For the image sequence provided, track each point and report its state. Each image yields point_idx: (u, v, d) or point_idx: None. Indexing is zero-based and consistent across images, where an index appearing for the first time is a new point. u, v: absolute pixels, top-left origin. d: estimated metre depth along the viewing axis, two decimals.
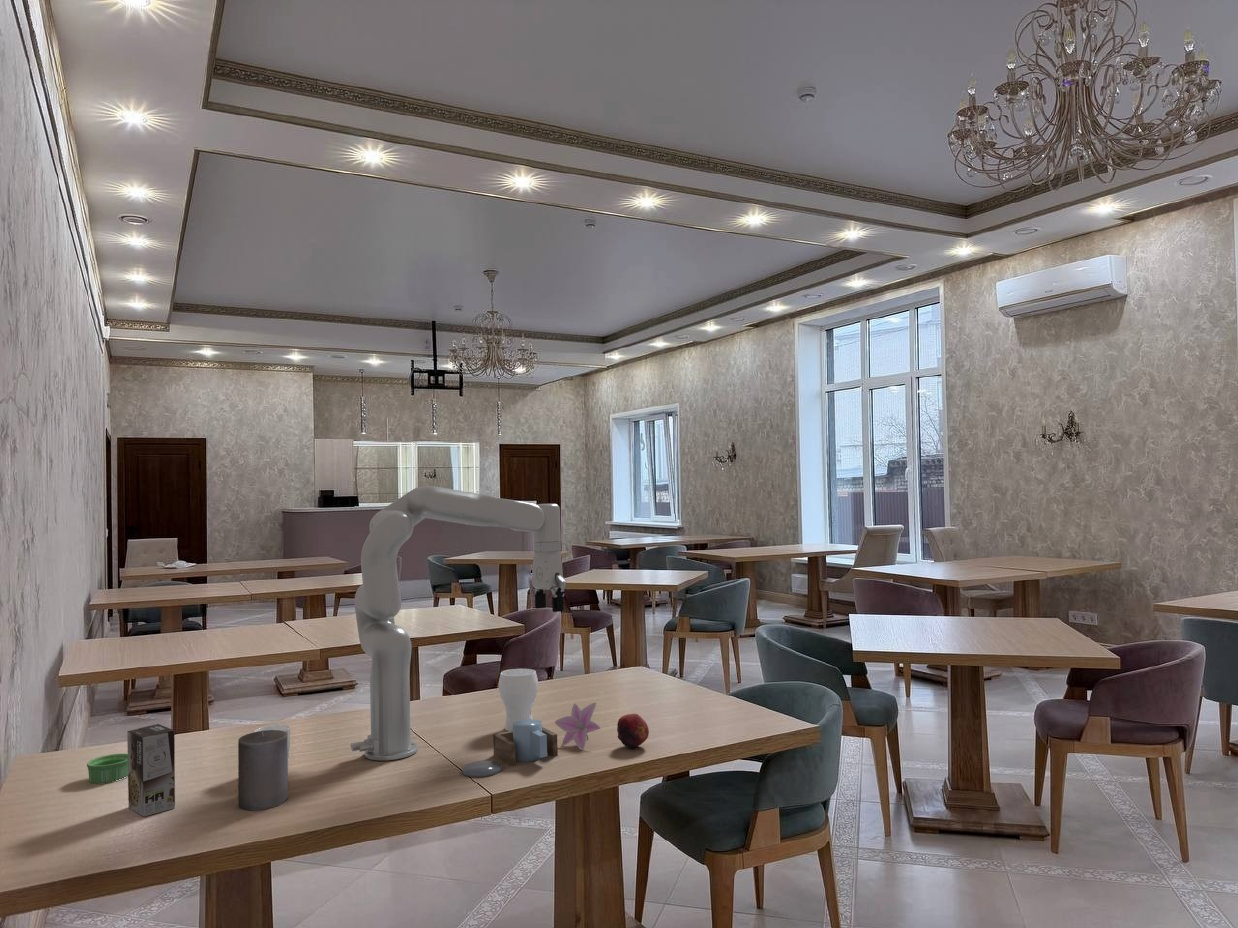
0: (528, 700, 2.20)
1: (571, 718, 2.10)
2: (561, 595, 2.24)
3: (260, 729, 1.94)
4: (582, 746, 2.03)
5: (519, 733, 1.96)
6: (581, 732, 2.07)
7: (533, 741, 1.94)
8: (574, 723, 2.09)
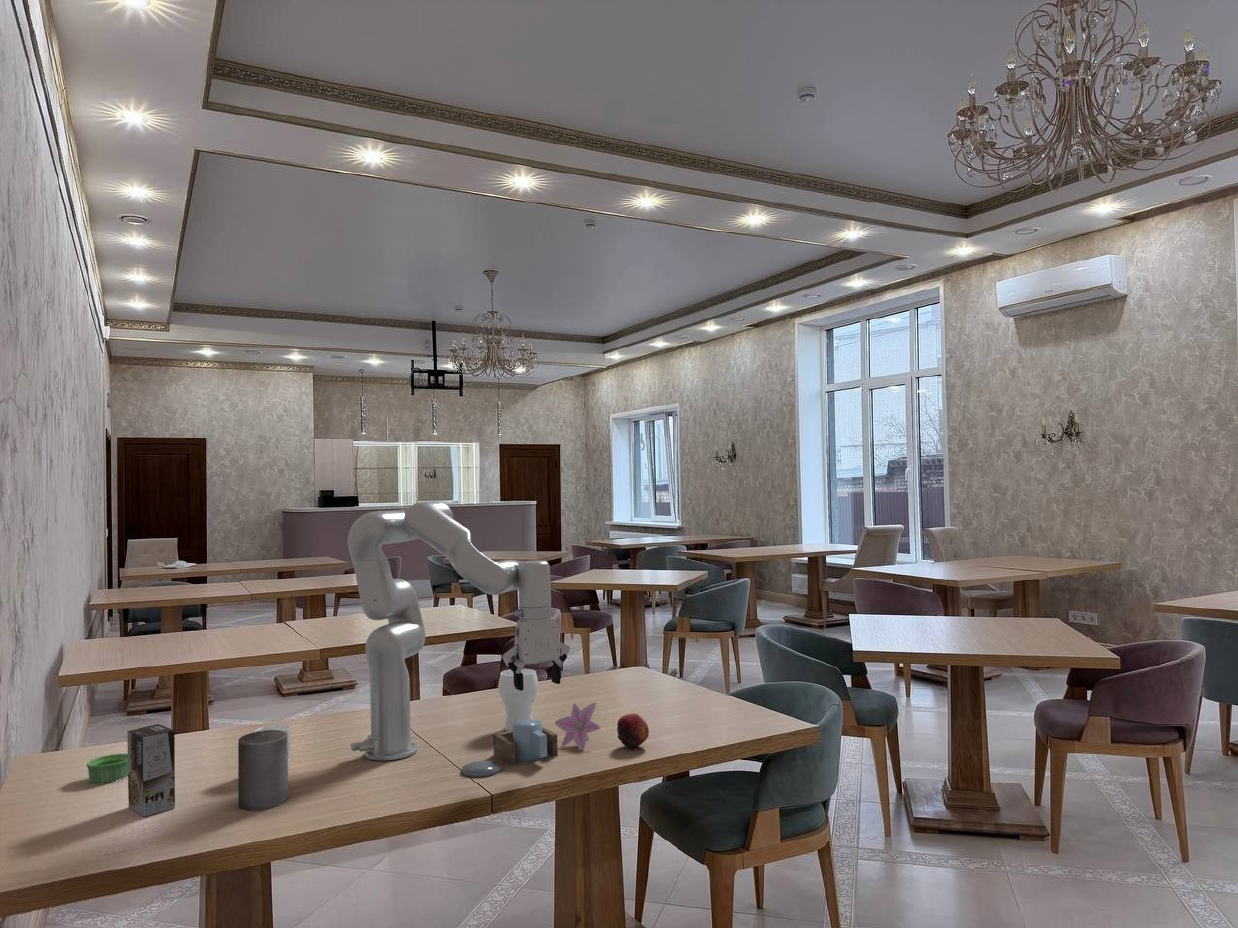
0: (528, 700, 2.20)
1: (571, 718, 2.10)
2: None
3: (260, 729, 1.94)
4: (582, 746, 2.03)
5: (519, 733, 1.96)
6: (581, 732, 2.06)
7: (533, 741, 1.94)
8: (574, 723, 2.09)
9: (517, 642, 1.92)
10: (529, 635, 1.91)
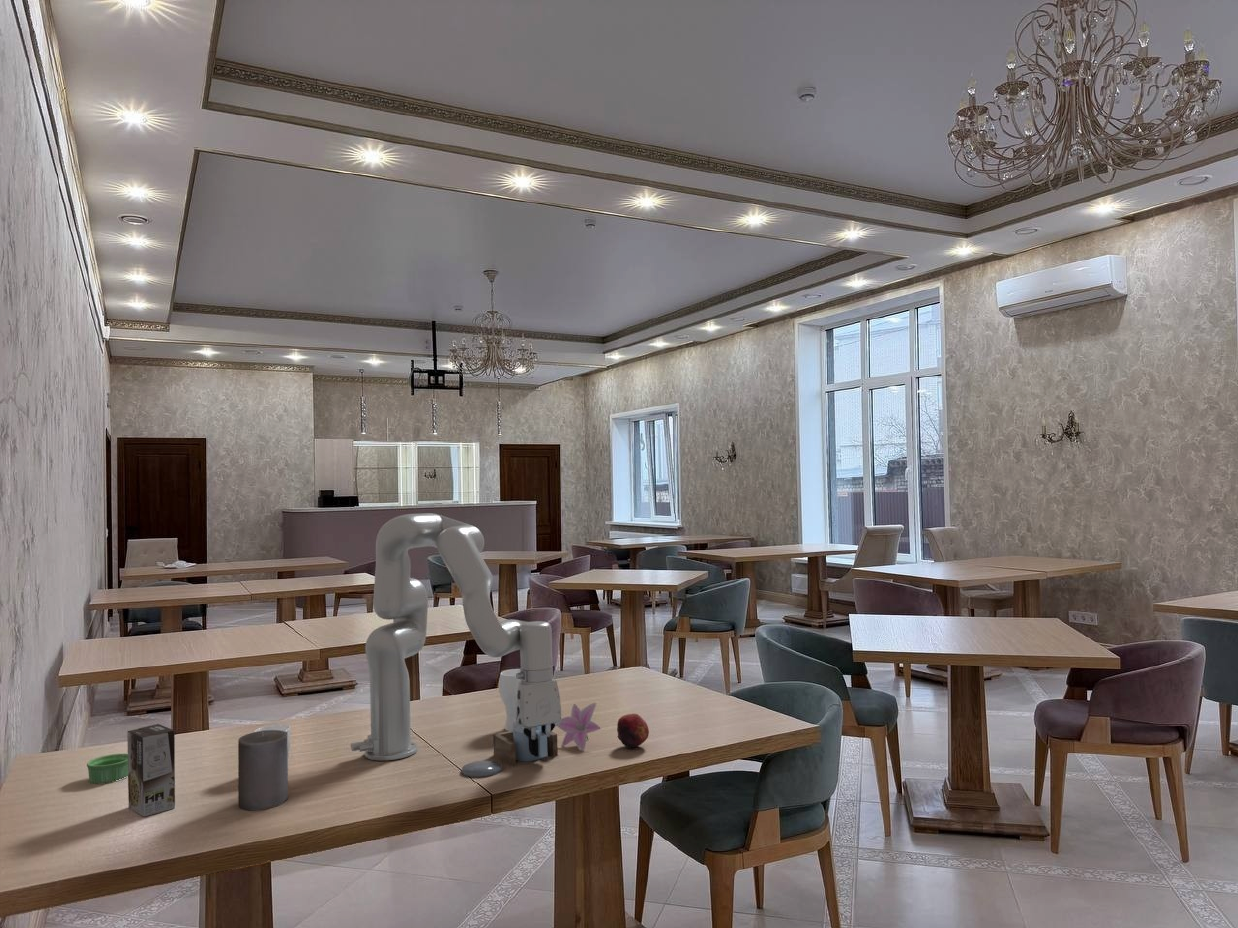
0: None
1: (571, 719, 2.09)
2: None
3: (260, 729, 1.94)
4: (582, 746, 2.03)
5: (520, 733, 1.95)
6: (581, 732, 2.06)
7: None
8: (574, 724, 2.09)
9: (518, 705, 1.91)
10: (530, 698, 1.90)
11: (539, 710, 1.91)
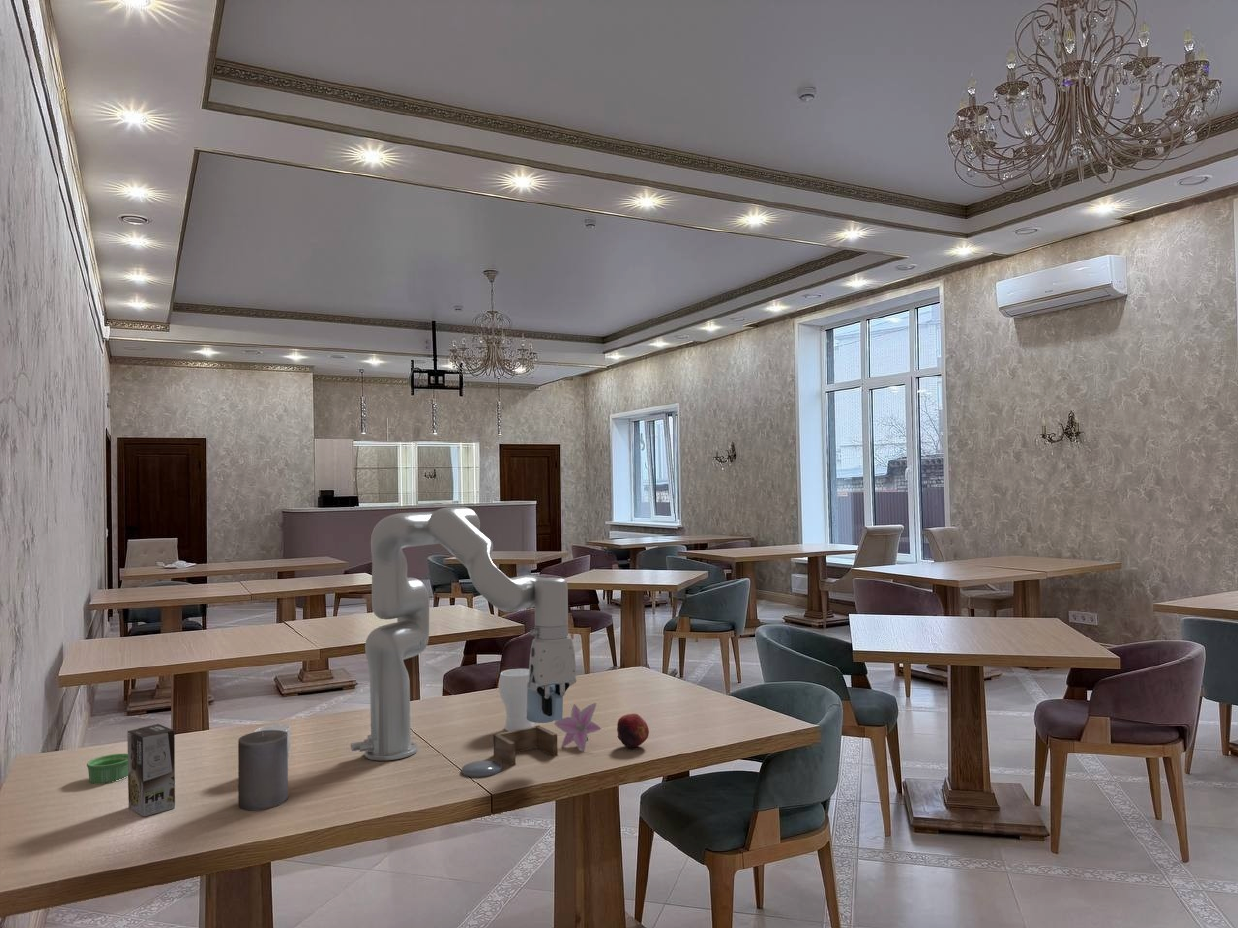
0: None
1: (571, 719, 2.09)
2: None
3: (260, 729, 1.94)
4: (583, 747, 2.02)
5: (534, 694, 1.88)
6: (581, 733, 2.06)
7: None
8: (574, 724, 2.08)
9: (532, 662, 1.85)
10: (545, 656, 1.84)
11: (553, 668, 1.85)
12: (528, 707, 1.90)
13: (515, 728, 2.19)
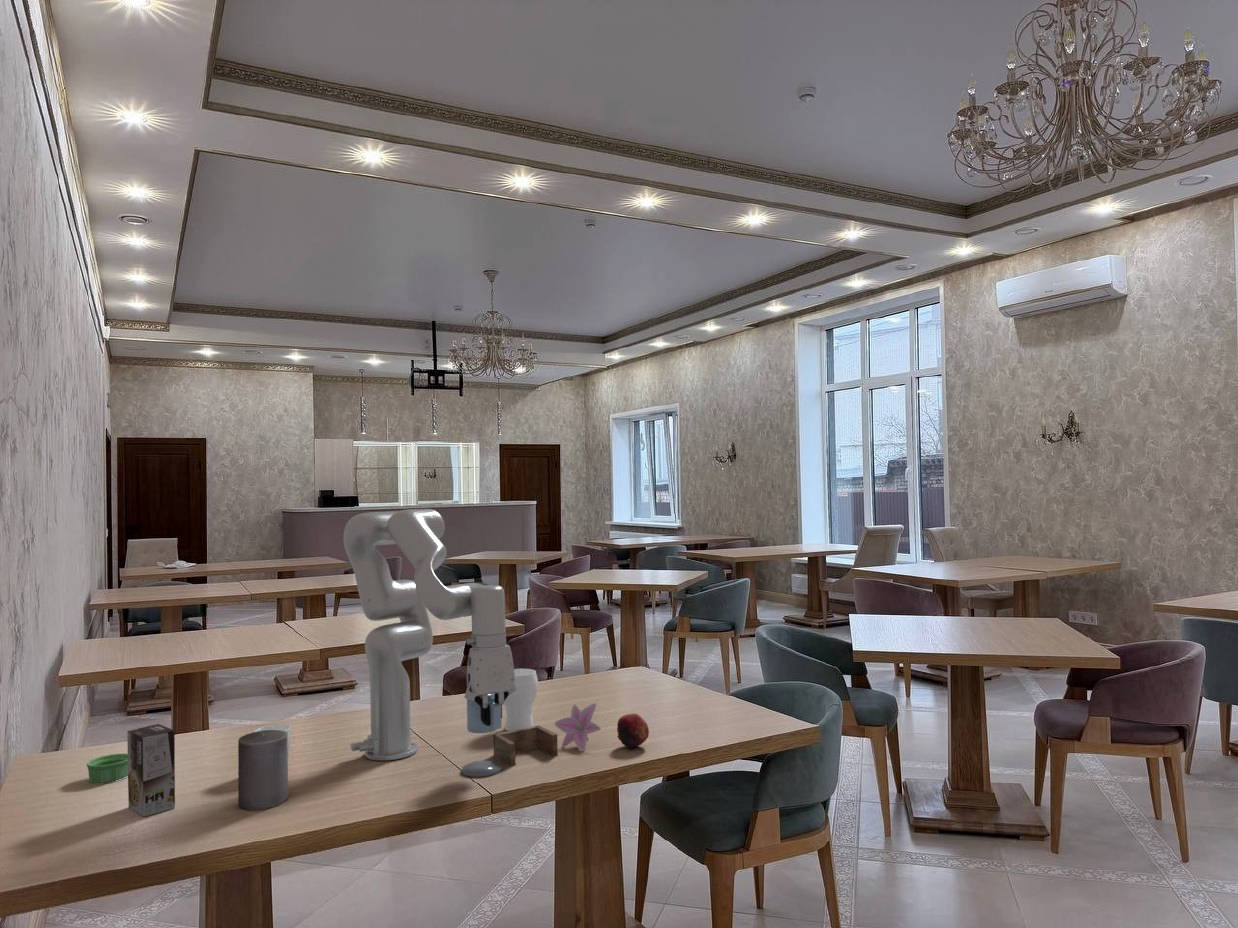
0: (528, 700, 2.20)
1: (571, 719, 2.09)
2: None
3: (260, 729, 1.94)
4: (583, 747, 2.02)
5: (473, 703, 1.86)
6: (581, 733, 2.06)
7: None
8: (574, 724, 2.08)
9: (469, 672, 1.82)
10: (481, 664, 1.81)
11: (491, 677, 1.82)
12: (468, 718, 1.87)
13: (515, 728, 2.19)
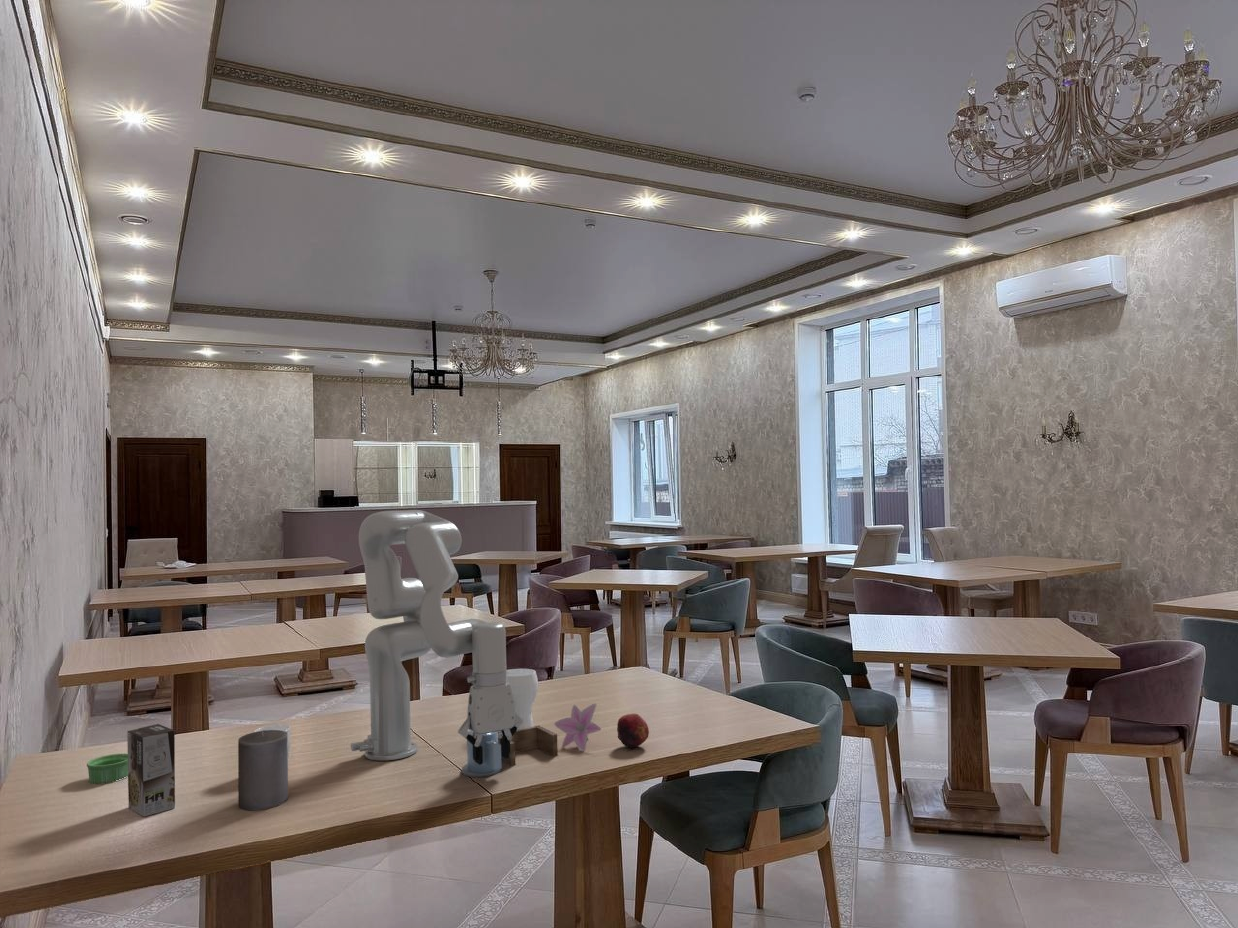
0: (528, 700, 2.20)
1: (571, 719, 2.08)
2: None
3: (260, 729, 1.94)
4: (583, 747, 2.02)
5: None
6: (581, 733, 2.05)
7: (487, 752, 1.84)
8: (574, 724, 2.08)
9: (469, 710, 1.82)
10: (482, 703, 1.81)
11: (491, 716, 1.82)
12: (468, 757, 1.87)
13: None
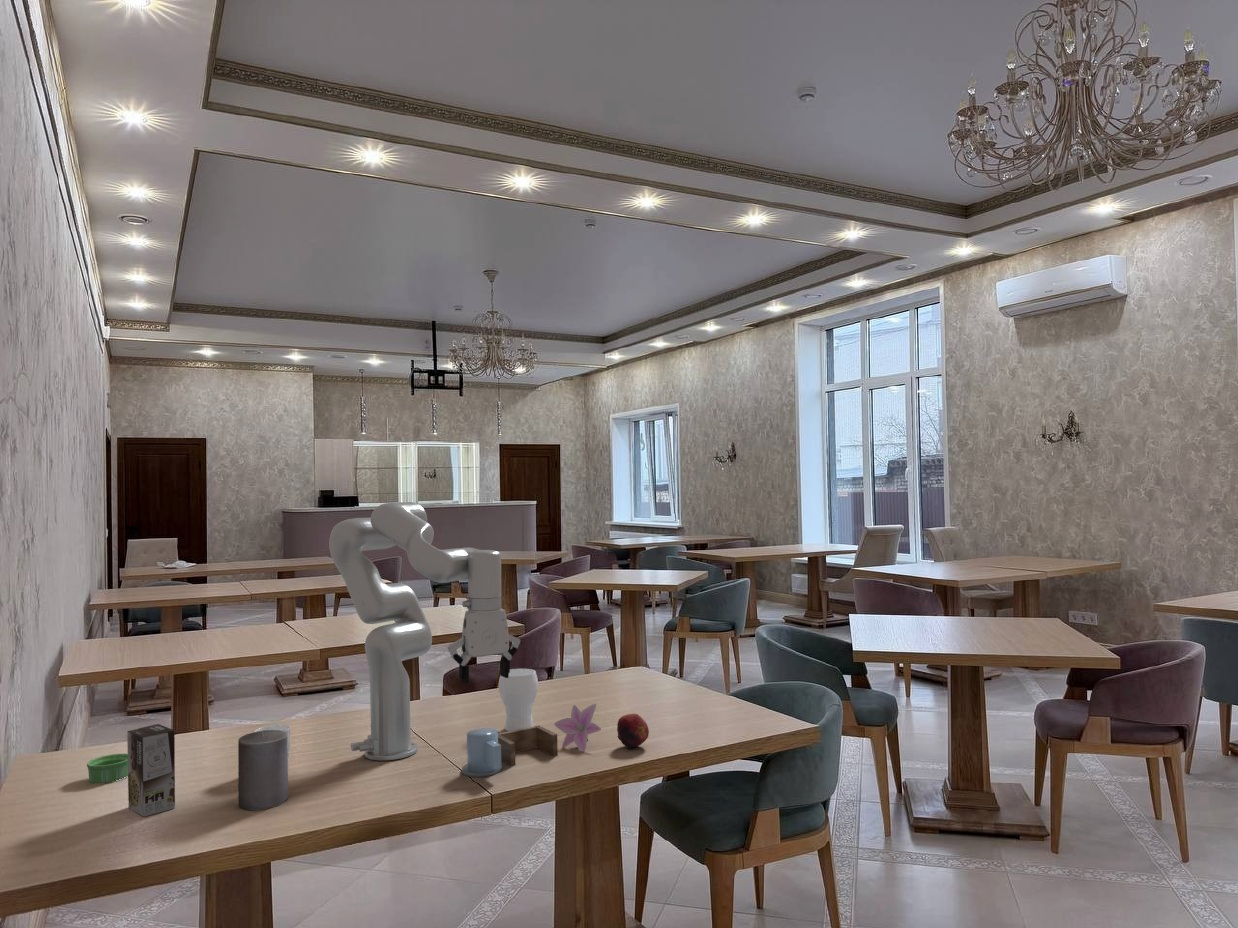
0: (528, 700, 2.20)
1: (571, 720, 2.08)
2: None
3: (260, 729, 1.94)
4: (583, 747, 2.02)
5: (473, 743, 1.86)
6: (581, 734, 2.05)
7: (487, 752, 1.84)
8: (574, 725, 2.08)
9: (464, 633, 1.86)
10: (476, 627, 1.85)
11: (485, 640, 1.86)
12: (468, 757, 1.87)
13: (515, 728, 2.19)
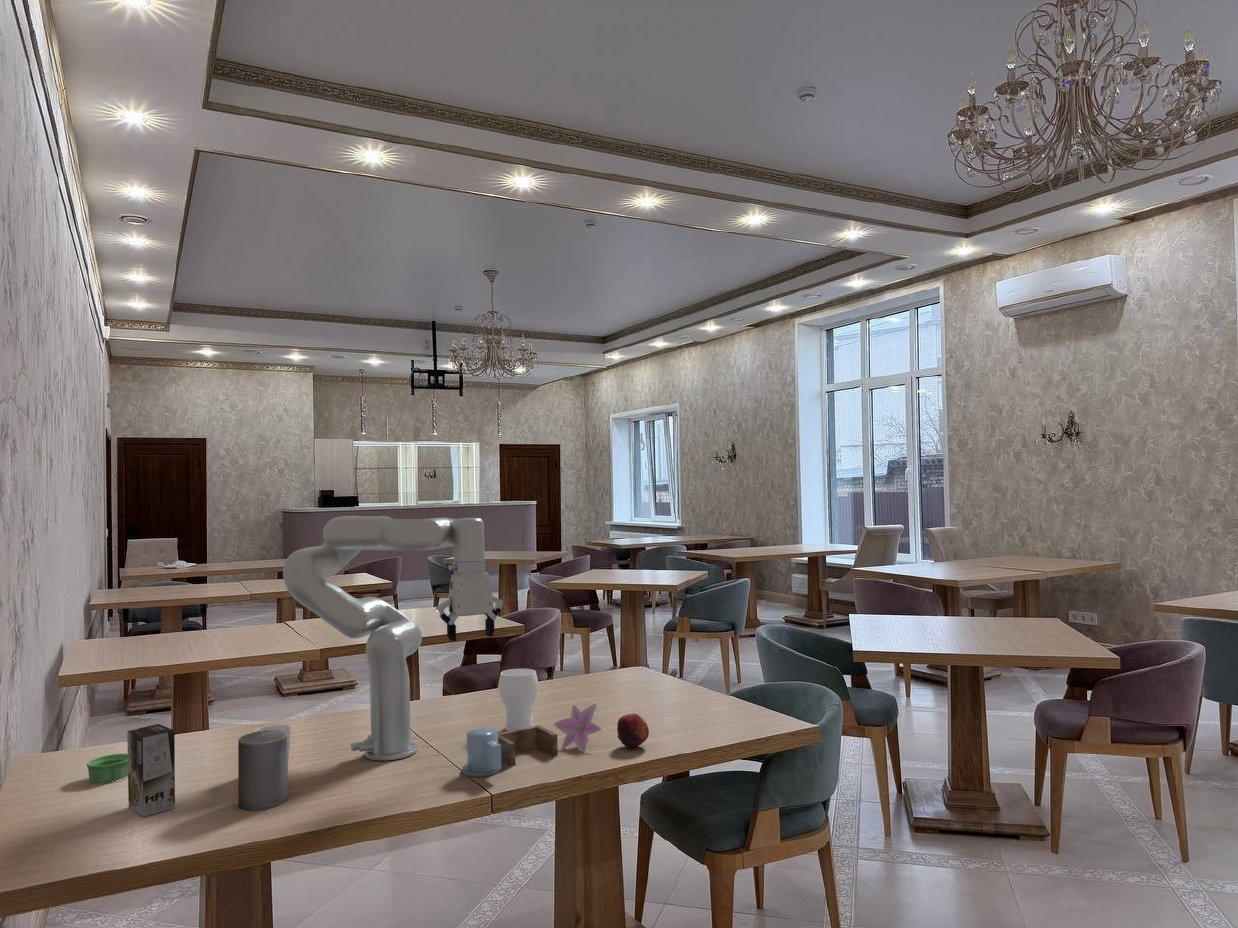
0: (528, 700, 2.20)
1: (571, 720, 2.08)
2: None
3: (260, 729, 1.94)
4: (583, 748, 2.02)
5: (473, 743, 1.86)
6: (582, 734, 2.05)
7: (487, 752, 1.84)
8: (574, 725, 2.08)
9: (451, 595, 2.00)
10: (462, 588, 1.99)
11: (470, 600, 2.00)
12: (468, 757, 1.87)
13: (515, 728, 2.19)
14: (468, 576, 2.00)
